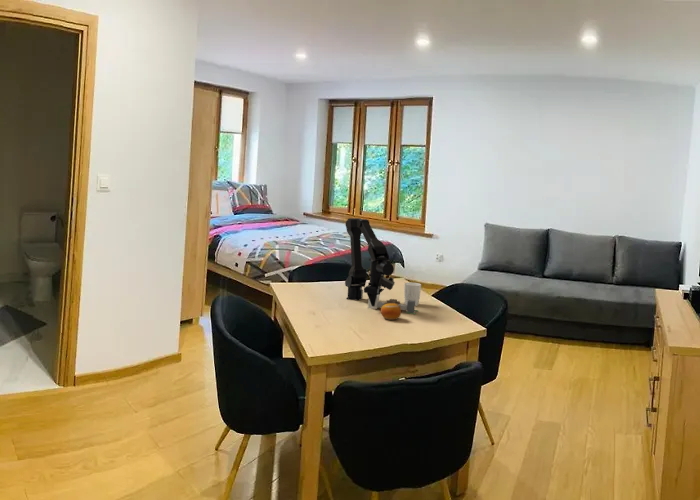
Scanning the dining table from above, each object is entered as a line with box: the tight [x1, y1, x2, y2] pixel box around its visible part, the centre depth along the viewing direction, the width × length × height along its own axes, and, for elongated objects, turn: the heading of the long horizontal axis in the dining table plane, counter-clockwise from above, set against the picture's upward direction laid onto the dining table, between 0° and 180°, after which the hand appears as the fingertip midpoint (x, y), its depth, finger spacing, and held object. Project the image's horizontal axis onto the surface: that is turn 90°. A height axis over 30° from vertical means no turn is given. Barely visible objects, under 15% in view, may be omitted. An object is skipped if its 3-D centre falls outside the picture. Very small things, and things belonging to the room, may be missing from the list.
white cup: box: [403, 281, 422, 307], centre depth 296 cm, size 8×8×10 cm
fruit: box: [380, 303, 402, 321], centre depth 266 cm, size 8×8×8 cm
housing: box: [384, 298, 419, 315], centre depth 282 cm, size 14×7×4 cm, turn 73°
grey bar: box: [367, 295, 407, 311], centre depth 283 cm, size 18×4×6 cm, turn 74°
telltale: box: [406, 300, 416, 313], centre depth 281 cm, size 3×3×5 cm
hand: (374, 305), depth 285 cm, fingers closed on grey bar, 4 cm apart
